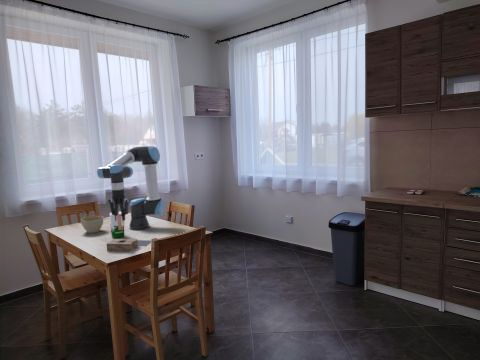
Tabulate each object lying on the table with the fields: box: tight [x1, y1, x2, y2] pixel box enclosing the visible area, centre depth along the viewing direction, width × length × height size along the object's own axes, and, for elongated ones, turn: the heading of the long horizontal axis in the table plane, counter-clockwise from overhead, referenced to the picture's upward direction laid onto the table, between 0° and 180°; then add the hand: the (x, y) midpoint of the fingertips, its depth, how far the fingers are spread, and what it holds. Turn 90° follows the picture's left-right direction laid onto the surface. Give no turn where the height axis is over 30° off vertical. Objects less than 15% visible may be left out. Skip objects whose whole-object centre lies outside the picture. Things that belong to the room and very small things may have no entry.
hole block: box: [106, 238, 139, 252], centre depth 216 cm, size 10×16×5 cm, turn 81°
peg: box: [117, 214, 123, 230], centre depth 214 cm, size 3×3×10 cm
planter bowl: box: [80, 215, 104, 234], centre depth 260 cm, size 16×16×11 cm
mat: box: [137, 239, 152, 247], centre depth 226 cm, size 12×12×1 cm
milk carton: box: [109, 210, 125, 240], centre depth 242 cm, size 9×9×20 cm
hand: (120, 225), depth 214 cm, fingers closed on peg, 2 cm apart
